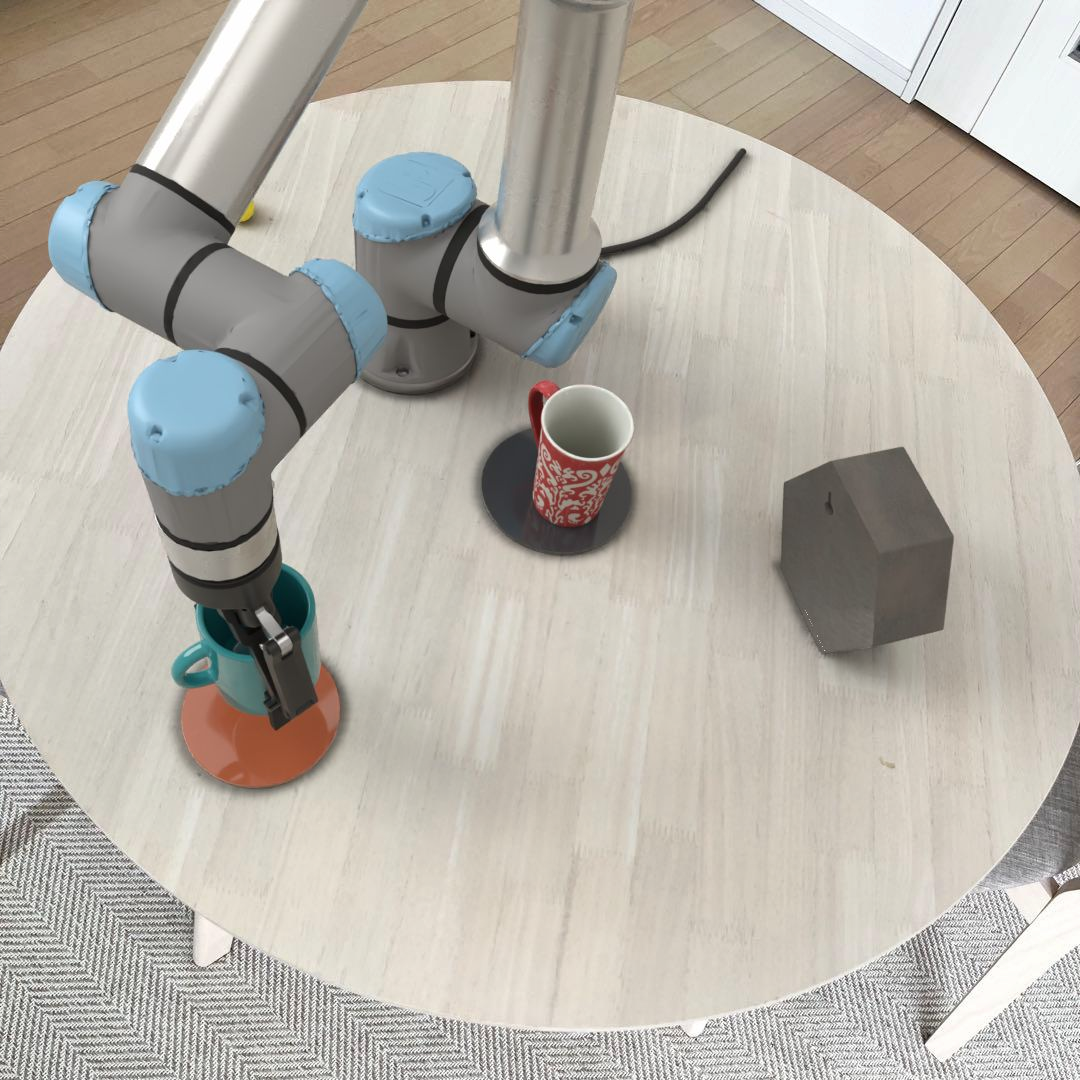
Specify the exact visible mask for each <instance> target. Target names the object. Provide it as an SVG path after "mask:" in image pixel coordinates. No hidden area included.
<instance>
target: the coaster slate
mask: <svg viewBox="0 0 1080 1080" xmlns="http://www.w3.org/2000/svg"><path fill="white" fill-rule="evenodd" d="M537 459H538V448H537V445H536V441H535V438H534V434H533V430H532V427H531V428H528V429H524V430H522V431H519V432H516V433H514V434H512V435H510V436H509V437H507V438H505V440H502V442H500V443H499V444H498V445H497V446H496V447H495V448H494V449H493V450H492V451H491V453H490V454H489V456H488V457H487V459H486V461H485V463H484V466H483V468H482V472H481V478H480V494H481V499H482V502H483V506H484V508H485V510H486V512H487V515H488V516H489V518H490V519H491V521H492V522H493V524H494V525H495V526H496V527H497V528H498V530H500V531H501V532H502V533H503V534H504V536H506V537H508V538H509V539H510V540H512V541H513V542H515V543H517V544H518V545H521V546H522V547H525V548H527V549H529V550H532V551H535V552H538V553H541V554H547V555H554V556H567V555H568V556H569V555H571V556H573V555H579V554H583V553H586V552H589V551H593V550H595V549H597V548H599V547H601V546H603V545H604V544H606V543H607V542H609V541H610V540H611V539H613V538H614V537H615V536H616V535H617V534H618V533H619V532H620V530H621V529H622V528H623V526H624V524H625V523H626V521H627V518H628V516H629V515H630V511H631V506H632V498H633V493H632V491H633V490H632V484H631V479H630V476H629V475H628V472H627V470H626V468H625V466H624V464H623V462H622V460H621V461H620V463H619V466H618V468H617V470H616V472H615V475H614V477H613V480H612V482H611V484H610V486H609V489H608V491H607V493H606V495H605V498H604V500H603V503H602V505H601V508H600V510H599V512H598V514H597V515H596V516H595V517H594V518H593V519H592V520H591V521H590V522H588V523H586V524H584V525H581V526H577V527H564V526H559V525H556V524H553V523H551V522H550V521H548V520H546V519H545V518H544V517H543V516H542V515H541V514H540V513H539V512H538V510H537V508H536V507H535V504H534V500H533V487H534V480H535V473H536V466H537Z"/></svg>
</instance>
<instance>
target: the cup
mask: <svg viewBox="0 0 1080 1080" xmlns="http://www.w3.org/2000/svg"><path fill="white" fill-rule="evenodd" d="M272 591H273V596H272V600H273V602H274V604H275V606H276V609H277V611H278V613H279V615H280V617H281V621H282V622H281V624H280V627H281V628H282V629H283V628H285V627H287V626H288V627H290V626H294V627H295V628H296V629H298V630H299V632H300V636H301V648H302V651H303V655H304V658H305V661H306V664H307V667H308V670H309V673H310V676H311V679H312V683H313V686H314V687H315V685H316V683H317V681H318V678H319V674H320V669H321V664H322V660H321V659H322V658H321V649H320V648H321V647H320V639H319V638H320V637H319V627H318V626H319V625H318V615H317V606H316V599H315V595H314V592H313V590H312V588H311V585H310V583H309V582H308V581H307V579H306V578H305V577H304V576H303V575H302V574H301V573H300V572H299V571H298V570H296V569H295V568H293V567H292V566H290V565H288V564H286V563H284V562H282V567H281V571H280V574H279V577H278V579H277V581H276V583H275V585H274V587H273V588H272ZM195 622H196V623H195V624H196V628H197V630H198V634H199V640H198V641H197V642H195V643H194V644H191V645H190V646H189V647H187V648H186V649H184V650H183V651H182V652H181V653H179V655H177V656H176V658H175V659H174V661H173V662H172V664H171V666H170V675H171V678H172V681H173V682H174V683H175V684H176V685H177V686H179V687H180V688H183V689H188V690H189V689H194V688H201V687H205V686H208V685H211V684H215V687H216V689H217V691H218V693H219V694H220V696H221V697H222V698H223V699H224V700H225V701H226V702H227V703H228V704H229V705H230V706H232V707H233V708H235V709H237V710H239V711H241V712H244V713H247V714H251V715H257V716H269V715H268V711H267V708H266V707H265V705H264V704H263V701H265V696H264V692H265V691H267V688H266V686H265V684H264V682H263V680H262V677H261V675H260V673H259V671H258V669H257V667H256V665H255V662H254V660H253V659H252V657H251V655H250V653H249V651H248V649H247V647H245V646H243V645H242V644H241V643H240V642H239V641H237V640H236V639H235V637H234V635H233V633H232V631H231V629H230V627H229V625H228V623H227V621H226V620H225V619H224V618H223V617H221V616H220V614H219V613H218V611H217V609H213V608H208V607H205V606H202V605H200V604H197V605H196V611H195ZM240 626H241V628H242V629H243V628H245V627H246V626H242V625H240ZM203 659H206V661H207V665H208V668H207V669H205V670H202V669H201V670H202V671H201V670H197V671H193V672H187V671H189V669H190V668H191V667H193V666H194V665H196V663H198V662H200V661H201V660H203Z"/></svg>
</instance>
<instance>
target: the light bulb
mask: <svg viewBox="0 0 1080 1080" xmlns="http://www.w3.org/2000/svg"><path fill="white" fill-rule="evenodd" d="M254 211H255V203H254V200H252V201H251V203H250V205H249V207H248V208H247V210H246V212H245V213H244V215H243V217H242V218H241V220H240V222H239V223H242V222H245V221H249V219H250V218H251V217H252V216H253V215H254V213H255V212H254Z"/></svg>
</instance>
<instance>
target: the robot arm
mask: <svg viewBox="0 0 1080 1080" xmlns="http://www.w3.org/2000/svg"><path fill="white" fill-rule="evenodd" d="M370 1H371V0H229V3H228V5H227V6H226V8H225V10H224V11H223V12H222V14H221V16H220V17H219V20H218V22H217V24H215V27H214V29H213V30H212V32H211V33H210V35H209V37H208V38H207V40H206V42H205V43H204V45H203V47H202V48H201V50H200V52H199V54H198V56H197V57H196V59H195V61H194V62H193V64H192V66H191V68H190V69H189V71H188V73H187V74H186V75H185V77H184V79H183V81H182V83H181V84H180V86H179V88H178V89H177V91H176V93H175V94H174V96H173V98H172V100H171V102H170V103H169V105H168V107H167V109H166V110H165V111H164V113H163V115H162V116H161V118H160V120H159V121H158V123H157V125H156V127H155V128H154V130H153V132H152V134H151V135H150V137H149V139H148V140H147V142H146V144H145V145H144V146H143V147H144V148H143V149H142V150H141V153H140V154H139V156H138V158H137V159H136V161H135V163H134V164H133V165H132V167H131V168H130V169H129V172H128V173H127V175H126V177H125V178H124V180H123V182H122V184H121V185H120V184H118V183H111V182H109V181H105V180H92V181H88V182H85V183H83V184H81V185H79V186H78V188H77V189H76V191H75V193H74V194H72V195H68V196H66V197H65V198H64V199H63V200H62V201H61V203H60V204H59V206H58V208H57V209H56V211H55V213H54V215H53V217H52V220H51V223H50V227H49V232H48V238H47V247H48V254H49V260H50V262H51V264H52V267H53V269H54V270H55V272H56V273H57V274H58V276H59V277H60V278H61V280H63V281H64V283H66V284H67V285H69V286H71V287H72V288H74V289H75V290H77V291H78V292H80V293H82V294H84V295H85V296H86V297H88V298H90V299H92V300H93V301H95V303H97V304H99V306H100V307H101V308H102V309H103V310H105V311H107V312H109V313H116V314H118V315H120V316H122V317H123V318H125V319H127V320H128V321H130V322H132V323H135V324H136V325H138V326H140V327H142V328H144V329H146V330H148V331H149V332H150V333H153V334H155V335H157V336H159V337H160V338H163V339H164V340H167V341H168V342H170V343H172V344H173V345H175V346H176V347H179V348H180V349H181V351H179V352H177V354H175V355H172V356H170V357H167V358H164V359H162V358H159V359H157V360H154V362H152V363H151V364H150V365H148V366H147V367H146V368H145V369H143V371H142V372H141V373H140V374H139V375H138V377H137V378H136V379H135V381H134V383H133V385H132V387H131V389H130V391H129V393H128V399H127V404H126V405H127V408H126V409H127V410H126V411H127V412H126V413H127V419H128V426H129V435H130V446H131V450H132V453H133V458H134V460H135V462H136V465H137V468H138V470H139V472H140V473H141V477H142V480H143V482H144V485H145V488H146V491H147V494H148V497H149V500H150V503H151V506H152V509H153V518H154V521H155V525H156V527H157V531H158V535H159V536H160V537H159V538H160V540H161V545H162V547H163V549H164V551H165V554H166V556H167V559H168V563H169V566H170V569H171V572H172V576H173V579H174V581H175V584H176V585H177V587H178V588H179V590H180V591H181V593H182V594H183V595H184V596H185V597H187V599H189V600H191V601H192V602H194V603H195V604H193V608H194V611H195V612H196V605H197V604H200V605H202V606H205V607H208V608H213V609H217V611H218V613H219V614H220V616H221V617H223V618H224V619H225V620H226V621H227V623H228V625H229V627H230V629H231V631H232V633H233V635H234V637H235V639H236V640H237V641H239V642H240V643H241V644H242V645H243V646H245V647H247V649H248V651H249V653H250V655H251V657H252V659H253V660H254V662H255V665H256V667H257V669H258V671H259V673H260V675H261V677H262V680H263V682H264V684H265V686H266V688H267V691H265V692H264V696H265V701H263V704H264V705H265V707H266V708H267V711H268V715H269V720H270V725H271V726H272V727H273V729H274V730H275V731H277V730H278V729H280V728H281V727H283V726H284V725H285V724H287V723H288V722H290V721H291V720H293V719H294V718H296V717H297V716H299V715H300V714H302V713H303V712H305V711H306V710H307V709H309V708H310V707H312V706H313V705H314V704H316V703H317V702H318V698H317V695H316V692H315V689H314V686H313V683H312V679H311V676H310V673H309V670H308V667H307V664H306V661H305V658H304V655H303V651H302V648H301V636H300V632H299V630H298V629H296V628H295V627H294V626H290V627H288V626H287V627H285V628H283V629H282V628H281V627H280V624H281V622H282V621H281V617H280V615H279V613H278V611H277V609H276V606H275V604H274V602H273V600H272V596H273V591H272V588H273V587H274V585H275V583H276V581H277V579H278V577H279V574H280V571H281V567H282V563H283V552H282V547H281V546H282V545H281V538H280V532H279V528H278V523H277V516H276V508H275V502H274V501H275V500H274V497H275V496H274V489H275V487H276V483H275V481H274V480H273V479H272V473H273V471H274V470H275V469H276V467H277V466H278V465H279V464H280V463H281V462H282V461H283V459H285V458H286V456H287V455H289V453H290V452H291V451H292V450H293V449H294V447H295V446H296V445H297V444H298V442H299V441H300V440H301V438H303V437H304V435H306V433H307V432H308V431H309V430H311V428H312V427H313V426H314V425H315V424H316V423H317V422H318V420H319V419H320V418H322V416H323V415H324V414H325V413H326V412H327V411H328V409H330V408H331V406H332V405H333V404H335V402H336V401H337V400H338V399H339V398H340V397H341V396H342V394H344V393H345V391H347V389H349V387H350V386H351V385H353V384H355V383H356V382H357V381H358V380H359V378H361V379H362V380H363V381H365V382H367V383H368V384H370V385H372V386H374V387H376V388H377V389H381V390H383V391H387V392H391V393H396V394H401V395H421V394H422V395H423V394H429V393H433V392H436V391H441V390H443V389H445V388H447V387H450V386H452V385H453V384H454V383H456V382H457V381H459V380H460V379H461V378H462V377H463V376H464V375H466V374H467V372H468V371H469V370H470V369H471V367H472V365H473V364H474V361H475V359H476V356H477V351H478V343H479V335H480V336H482V337H483V338H485V339H486V340H489V341H490V342H493V343H494V344H496V345H498V346H500V347H502V348H503V349H505V350H507V351H509V352H511V353H512V354H514V355H516V356H518V357H519V358H520V359H521V360H522V359H523V360H526V359H527V360H528V361H531V362H533V363H535V364H537V365H540V366H542V367H545V368H547V369H556V368H558V367H561V366H562V365H564V364H566V363H567V362H568V361H569V360H570V359H571V358H572V356H573V355H574V354H575V353H576V352H577V350H578V349H579V348H580V346H581V345H582V343H583V342H584V340H585V339H586V338H587V336H588V335H589V333H590V331H591V330H592V328H593V327H594V325H595V324H596V323H597V321H598V319H599V317H600V315H601V313H602V312H603V310H604V308H605V306H606V305H607V302H608V301H609V299H610V296H611V295H612V293H613V290H614V288H615V285H616V282H617V279H618V273H617V270H616V269H615V267H613V266H612V265H610V263H609V262H608V261H607V260H603V261H602V260H600V257H603V256H606V255H607V256H608V255H613V254H617V253H621V252H627V251H631V250H634V249H637V248H641V247H645V246H646V245H649V244H652V243H654V242H657V241H659V240H661V239H663V238H665V237H667V236H669V235H671V234H673V233H675V232H676V231H678V230H679V229H681V228H683V226H685V225H686V224H687V223H689V222H690V221H691V220H692V219H693V218H695V217H696V216H697V215H698V214H700V212H701V211H703V209H704V208H705V207H706V206H707V205H708V203H709V202H710V201H711V200H712V198H713V197H714V195H715V194H716V193H717V191H719V189H720V187H722V185H723V184H724V183H725V181H727V179H728V178H729V176H731V174H732V173H733V171H734V170H735V169H736V167H737V166H738V165H739V163H740V162H741V161H742V160H743V158H744V157H745V156H746V155H747V149H746V148H743V147H741V148H740V149H739V150H738V151H737V153H736V154H735V155H734V157H733V158H732V159H731V160H730V162H729V163H728V165H726V167H725V169H723V171H722V172H721V174H720V175H719V176H718V177H717V178H716V179H715V181H714V182H713V184H711V186H710V187H709V189H708V190H707V191H706V192H705V194H704V195H703V196H702V198H700V200H698V202H697V203H696V204H695V205H694V206H693V207H692V208H691V209H689V210H688V211H687V212H686V213H684V214H683V215H682V216H681V217H680V218H678V219H677V220H676V221H674V222H673V223H671V224H669V225H667V226H666V227H664V228H662V229H660V230H657V231H656V232H653V233H651V234H648V235H646V236H644V237H640V238H638V239H634V240H631V241H627V242H622V243H617V244H614V245H609V246H603V247H602V245H603V241H602V234H601V231H600V228H599V226H598V224H597V222H596V221H595V219H594V218H593V217H592V216H593V210H594V207H595V206H594V205H595V201H596V198H597V197H596V196H597V192H598V187H599V182H600V177H601V172H602V168H603V167H602V166H603V162H604V158H605V153H606V147H607V142H608V139H609V134H610V128H611V124H612V119H613V114H614V109H615V104H616V100H617V94H618V89H619V85H620V78H621V75H622V71H623V65H624V60H625V57H626V51H627V46H628V41H629V36H630V33H631V32H630V31H631V27H632V21H633V18H634V13H635V8H636V3H637V0H519V8H518V18H517V25H516V35H515V42H514V43H515V45H514V53H513V54H514V55H513V61H512V69H511V79H510V86H509V87H510V88H509V96H508V97H509V98H508V107H507V115H506V125H505V133H504V142H503V148H502V149H503V150H502V160H501V167H500V168H501V170H500V177H499V185H498V186H499V187H498V194H497V195H498V196H497V200H496V201H495V202H493V203H492V204H491V205H490V204H488V203H487V202H484V201H482V200H481V199H478V198H477V196H478V188H477V185H476V182H475V180H474V179H473V178H472V173H471V172H470V170H469V169H468V168H467V167H466V166H465V165H464V164H463V163H461V162H460V161H459V160H456V159H455V158H452V157H450V156H447V155H445V154H441V153H437V152H429V151H410V152H408V153H404V154H395V155H392V156H389V157H387V158H385V159H383V160H381V161H379V162H377V163H376V164H374V165H372V166H371V167H369V169H368V170H367V171H366V172H365V173H364V174H363V175H362V177H361V178H360V180H359V182H358V184H357V186H356V188H355V193H354V203H353V212H352V217H351V222H352V227H353V236H354V237H353V239H354V266H355V269H354V268H353V267H352V266H349V265H348V264H346V263H344V262H342V261H341V260H337V259H334V258H330V259H323V258H320V257H315V258H311V259H309V260H307V261H306V262H304V263H303V264H302V265H301V266H298V267H295V268H294V270H291V271H290V272H289V274H288V276H287V275H285V274H284V273H281V272H279V271H278V270H275V269H274V268H272V267H271V266H268V265H266V264H264V263H263V262H261V261H258V260H257V259H255V258H253V257H251V256H249V255H247V254H245V253H243V252H242V251H239V250H238V249H236V248H235V247H233V246H230V245H229V242H230V241H231V238H232V237H233V235H234V234H235V231H236V229H237V227H238V225H239V224H240V223H241V222H240V220H241V218H242V217H243V215H244V213H245V212H246V210H247V208H248V207H249V205H250V203H251V201H254V199H255V196H256V195H257V193H258V191H259V189H260V188H261V186H262V185H263V183H264V181H265V179H266V177H267V176H268V174H269V173H270V172H271V169H272V168H273V166H274V164H275V162H276V161H277V159H278V158H279V155H280V154H281V152H282V151H283V149H284V147H285V146H286V144H287V142H288V140H289V139H290V137H291V135H292V134H293V132H294V130H295V128H296V127H297V125H298V124H299V122H300V120H301V119H302V117H303V115H304V114H305V112H306V110H307V108H308V107H309V105H310V103H311V101H312V100H313V98H314V96H315V95H316V93H317V91H318V89H320V86H321V84H322V83H323V81H324V80H325V78H326V76H327V74H328V72H329V71H330V69H331V67H332V66H333V64H334V62H335V61H336V59H337V57H338V56H339V54H340V52H341V50H342V49H343V47H344V46H345V44H346V42H347V40H348V38H349V36H350V35H351V34H352V32H353V30H354V28H355V26H356V25H357V24H358V22H359V20H360V18H361V17H362V15H363V13H364V11H365V10H366V8H367V7H368V5H369V3H370ZM240 625H242V626H246V627H245V628H243V629H242V628H241V626H240Z"/></svg>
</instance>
